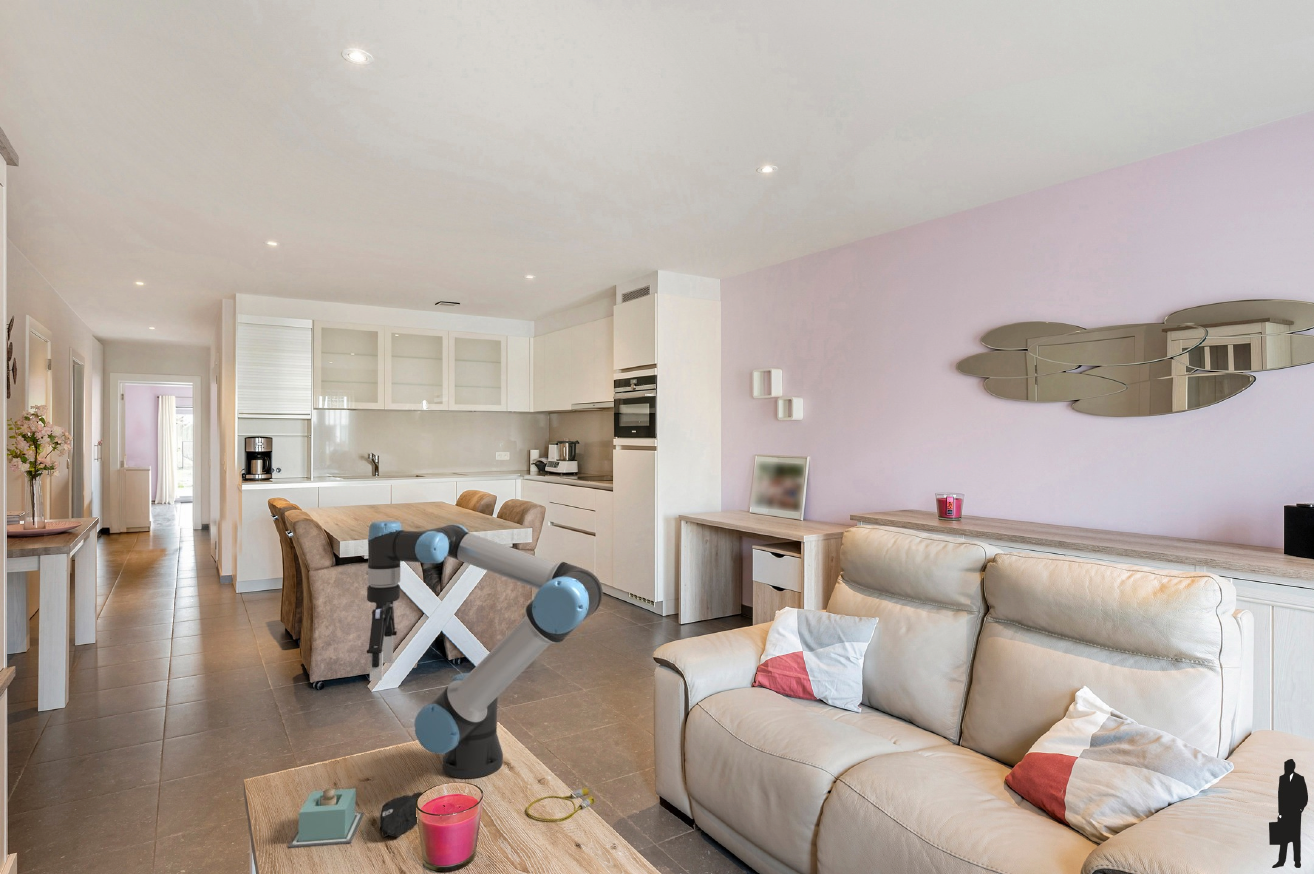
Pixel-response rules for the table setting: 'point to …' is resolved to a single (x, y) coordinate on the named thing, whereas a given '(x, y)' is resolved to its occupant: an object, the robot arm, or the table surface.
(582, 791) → the extension cord
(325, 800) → the post
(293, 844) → the mat
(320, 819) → the block with square hole
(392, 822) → the rock
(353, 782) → the table surface
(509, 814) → the table surface
